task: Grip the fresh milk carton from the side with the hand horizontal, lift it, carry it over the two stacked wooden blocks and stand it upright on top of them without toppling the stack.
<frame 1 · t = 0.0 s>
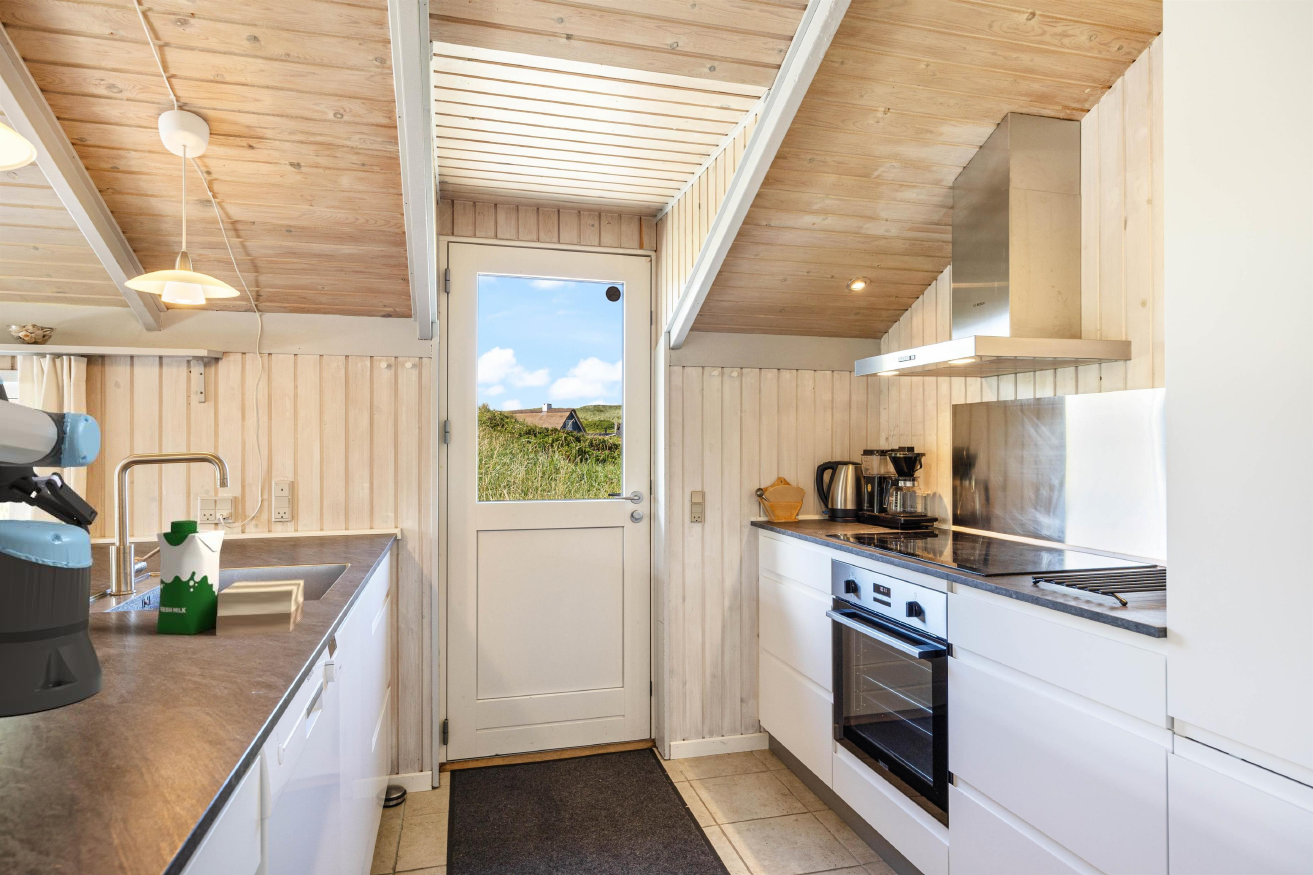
hand: (35, 553, 122), 15 cm above the countertop, tool tilted 35°, fingers open, 13 cm apart
block lower: (261, 628, 137), on the countertop, touching block upper
fresh milk carton: (189, 630, 134), on the countertop
block upper: (262, 607, 137), point 3 cm above the countertop, touching block lower
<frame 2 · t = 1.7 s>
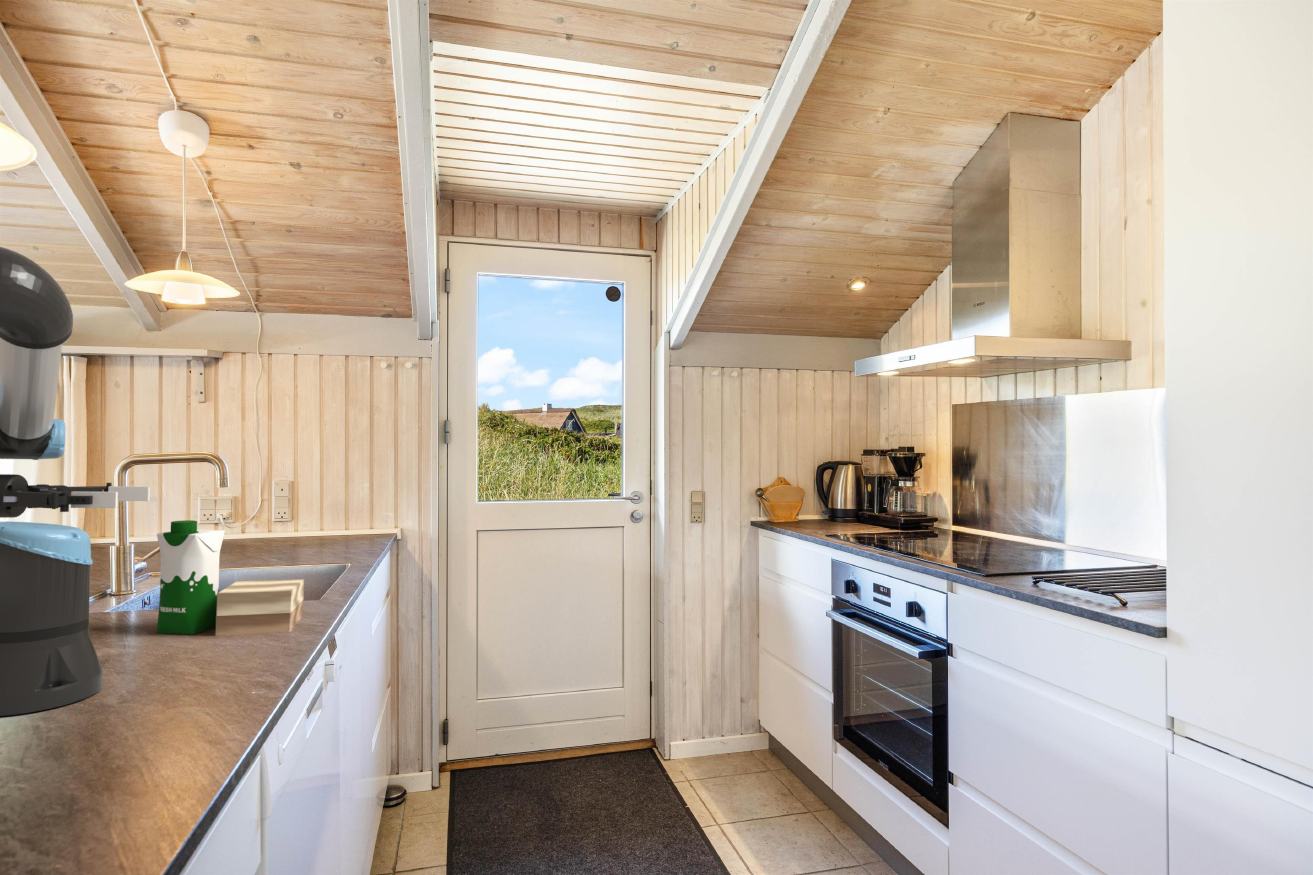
hand: (133, 496, 132), 24 cm above the countertop, tool horizontal, fingers open, 13 cm apart
nothing on the countertop moved.
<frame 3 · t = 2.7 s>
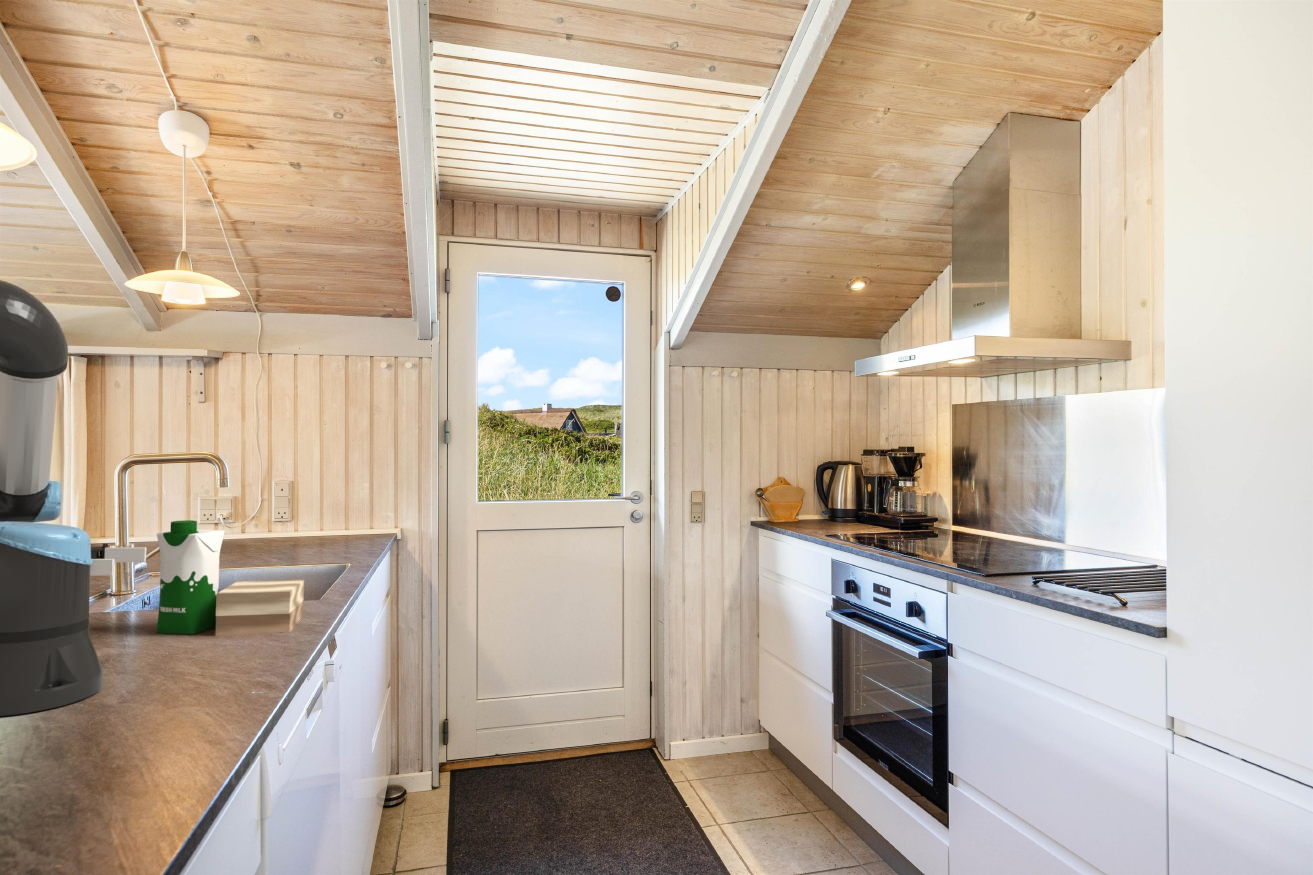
hand: (130, 560, 132), 13 cm above the countertop, tool horizontal, fingers open, 13 cm apart
nothing on the countertop moved.
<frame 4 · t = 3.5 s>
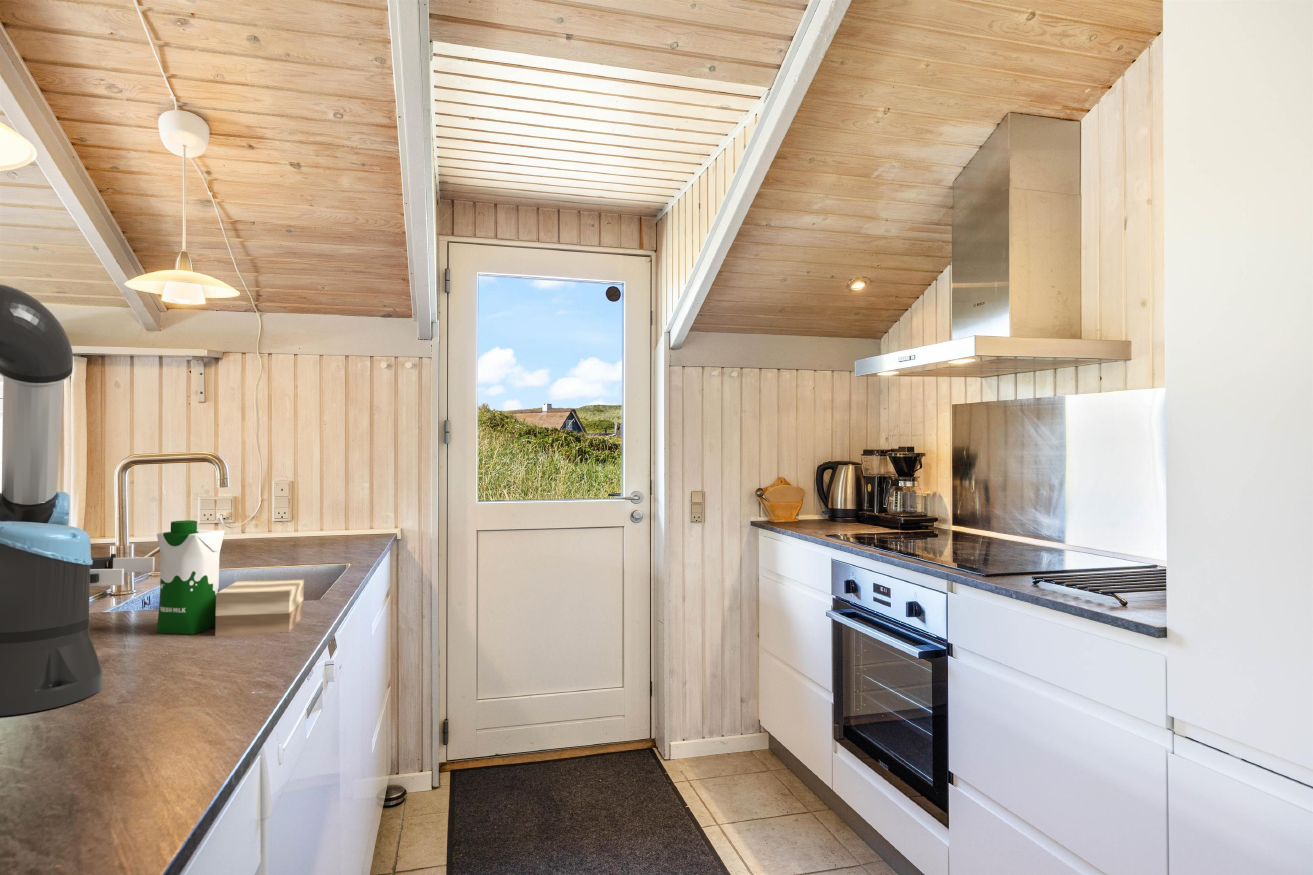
hand: (139, 570, 132), 11 cm above the countertop, tool horizontal, fingers open, 13 cm apart
block lower: (261, 628, 137), on the countertop
block upper: (261, 607, 137), point 3 cm above the countertop
everything else where it was.
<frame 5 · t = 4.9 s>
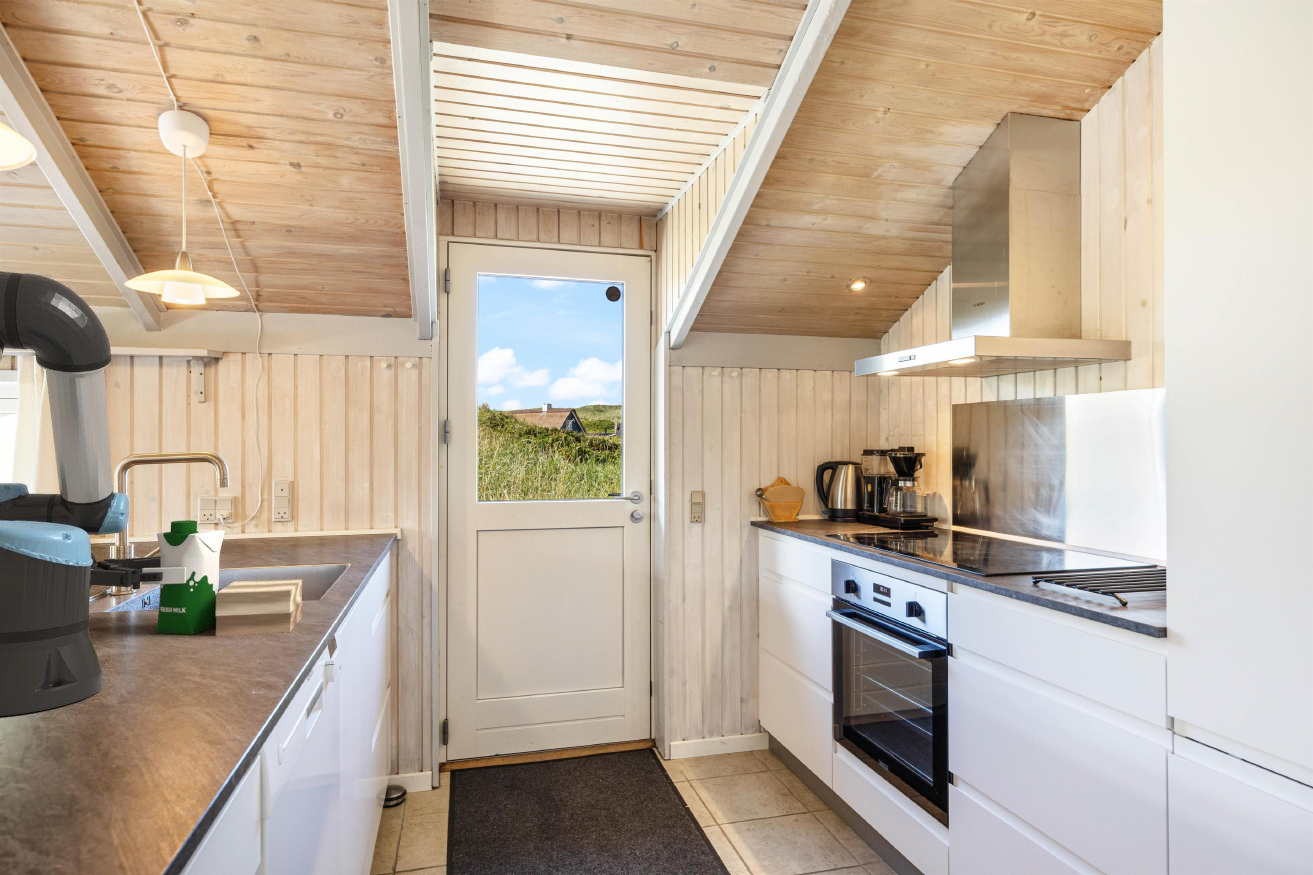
hand: (198, 568, 135), 11 cm above the countertop, tool horizontal, fingers open, 13 cm apart
block lower: (261, 628, 137), on the countertop, touching block upper
block upper: (261, 607, 137), point 4 cm above the countertop, touching block lower
everything else where it was.
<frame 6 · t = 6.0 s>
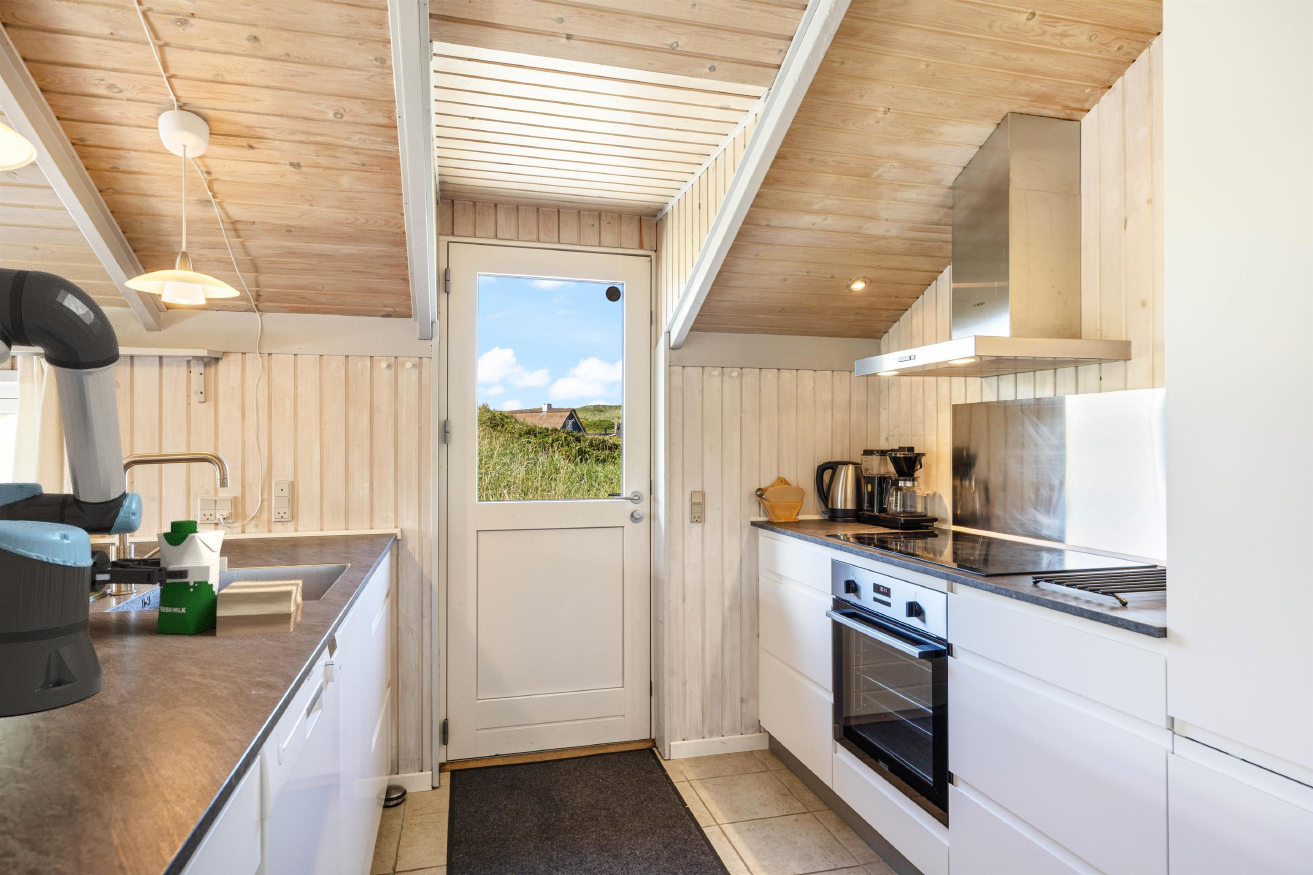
hand: (218, 568, 135), 11 cm above the countertop, tool horizontal, fingers closed on fresh milk carton, 9 cm apart
fresh milk carton: (189, 630, 134), on the countertop, touching gripper
everything else where it was.
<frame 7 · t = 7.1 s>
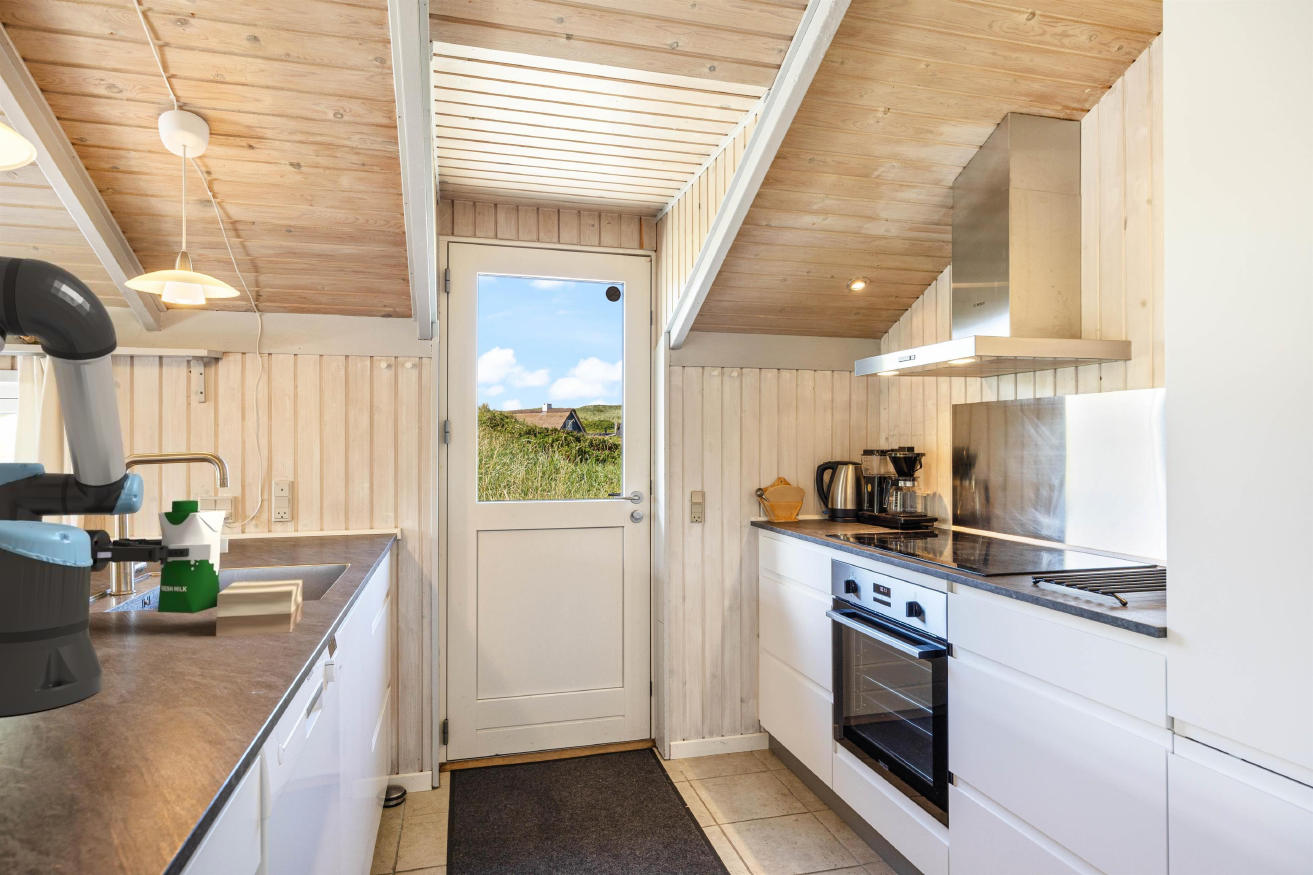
hand: (219, 548, 136), 15 cm above the countertop, tool horizontal, fingers closed on fresh milk carton, 9 cm apart
fresh milk carton: (190, 609, 134), point 3 cm above the countertop, touching gripper
everything else where it was.
when the fingers open (19 cm above the countertop, at t = 12.1 s): fresh milk carton stays where it is, resting on block upper.
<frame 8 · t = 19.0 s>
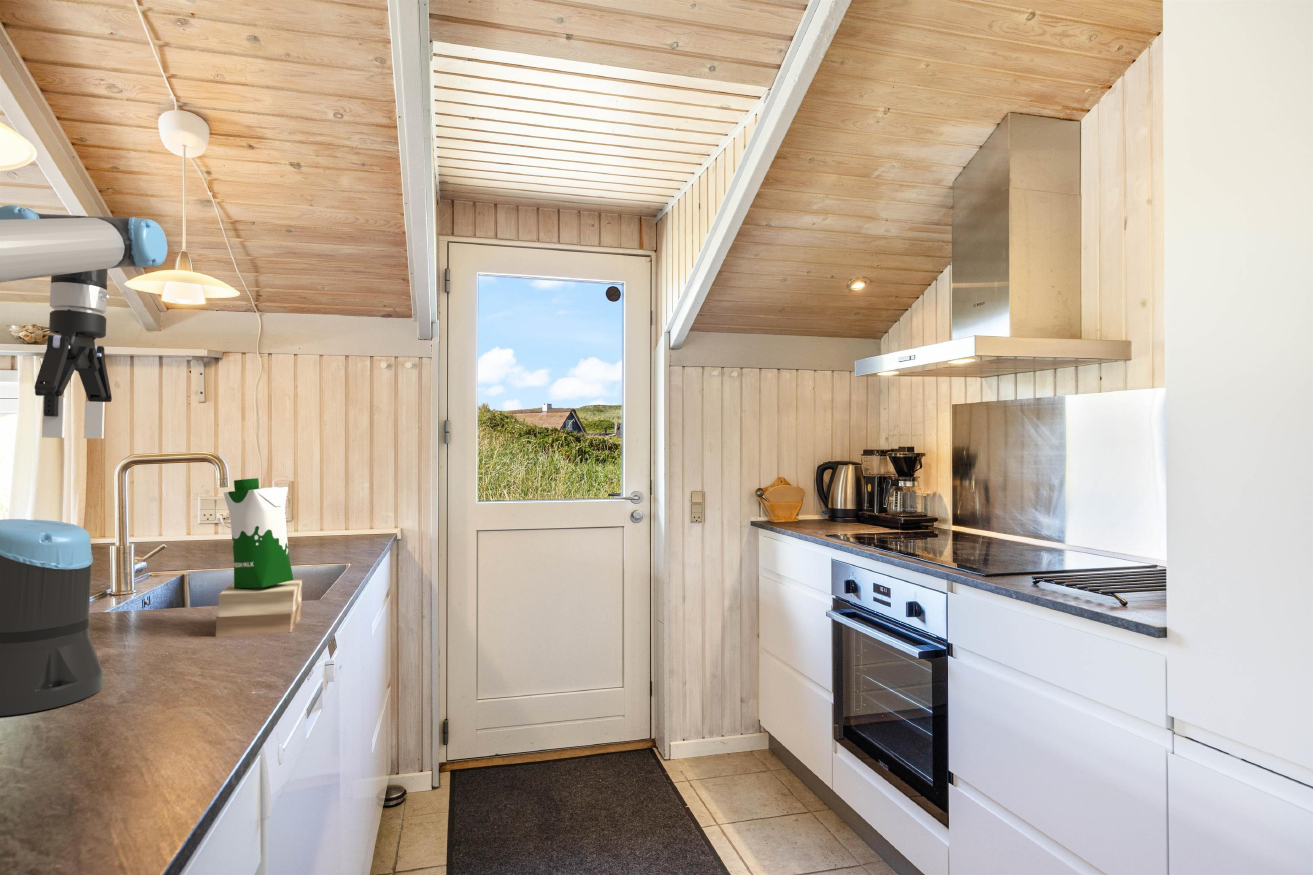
hand: (74, 438, 123), 35 cm above the countertop, tool pointing down, fingers open, 13 cm apart
fresh milk carton: (264, 585, 137), point 8 cm above the countertop, touching block upper
block upper: (262, 607, 137), point 3 cm above the countertop, touching block lower, fresh milk carton
everything else where it was.
at the end: fresh milk carton point 7.8 cm above the countertop; fresh milk carton 0.4 cm from the block upper (horizontally); fresh milk carton tilted 9° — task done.
